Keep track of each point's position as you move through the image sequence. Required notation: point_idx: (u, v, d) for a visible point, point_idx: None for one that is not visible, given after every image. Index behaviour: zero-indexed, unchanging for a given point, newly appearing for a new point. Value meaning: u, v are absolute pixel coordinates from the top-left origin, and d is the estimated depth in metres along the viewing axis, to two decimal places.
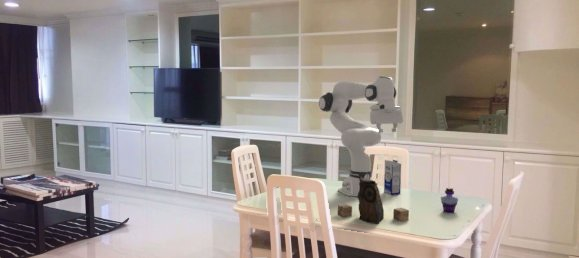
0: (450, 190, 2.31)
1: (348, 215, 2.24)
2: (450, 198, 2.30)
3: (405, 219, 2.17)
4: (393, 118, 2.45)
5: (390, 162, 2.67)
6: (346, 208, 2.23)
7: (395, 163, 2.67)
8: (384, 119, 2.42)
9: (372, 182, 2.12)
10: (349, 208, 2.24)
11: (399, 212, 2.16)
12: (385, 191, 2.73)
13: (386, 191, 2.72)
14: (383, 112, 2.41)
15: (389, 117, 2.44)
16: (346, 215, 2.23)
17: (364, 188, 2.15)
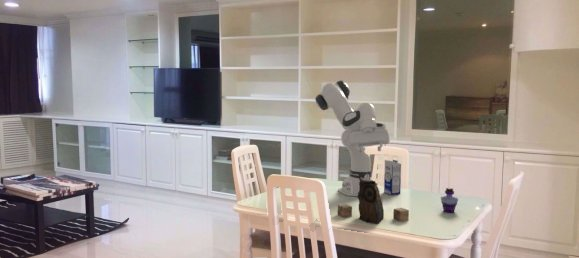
0: (450, 190, 2.31)
1: (348, 215, 2.24)
2: (450, 198, 2.30)
3: (405, 219, 2.17)
4: None
5: (390, 162, 2.67)
6: (346, 208, 2.23)
7: (395, 163, 2.67)
8: None
9: (372, 182, 2.12)
10: (349, 208, 2.24)
11: (399, 212, 2.16)
12: (385, 191, 2.73)
13: (386, 191, 2.72)
14: None
15: None
16: (346, 215, 2.23)
17: (364, 188, 2.15)
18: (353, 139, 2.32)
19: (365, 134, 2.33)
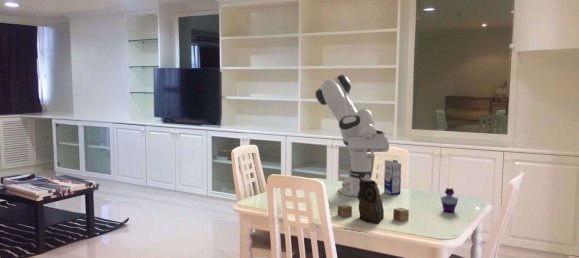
0: (450, 190, 2.31)
1: (348, 215, 2.24)
2: (450, 198, 2.30)
3: (405, 219, 2.17)
4: None
5: (390, 162, 2.67)
6: (346, 208, 2.23)
7: (395, 163, 2.67)
8: None
9: (372, 182, 2.12)
10: (349, 208, 2.24)
11: (399, 212, 2.16)
12: (385, 191, 2.73)
13: (386, 191, 2.72)
14: None
15: None
16: (346, 215, 2.23)
17: (364, 188, 2.15)
18: (352, 144, 2.27)
19: (364, 140, 2.29)
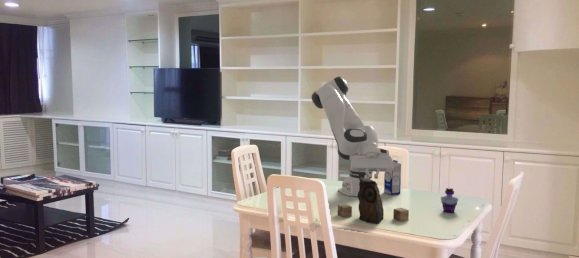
0: (450, 190, 2.31)
1: (348, 215, 2.24)
2: (450, 198, 2.30)
3: (405, 219, 2.17)
4: None
5: None
6: (346, 208, 2.23)
7: (395, 163, 2.67)
8: None
9: (372, 182, 2.11)
10: (349, 208, 2.24)
11: (399, 212, 2.16)
12: (385, 191, 2.73)
13: (386, 191, 2.72)
14: None
15: None
16: (346, 215, 2.23)
17: (364, 188, 2.14)
18: (356, 163, 2.20)
19: (368, 159, 2.22)
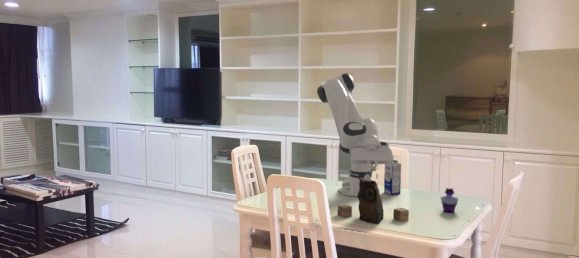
0: (450, 190, 2.31)
1: (348, 215, 2.24)
2: (450, 198, 2.30)
3: (405, 219, 2.17)
4: None
5: None
6: (346, 208, 2.23)
7: (395, 163, 2.67)
8: None
9: (372, 182, 2.12)
10: (349, 208, 2.24)
11: (399, 212, 2.16)
12: (385, 191, 2.73)
13: (386, 191, 2.72)
14: None
15: None
16: (346, 215, 2.23)
17: (364, 188, 2.14)
18: (356, 155, 2.20)
19: (368, 152, 2.22)
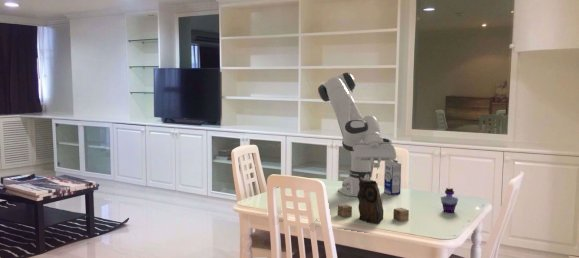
0: (450, 190, 2.31)
1: (348, 215, 2.24)
2: (450, 198, 2.30)
3: (405, 219, 2.17)
4: None
5: (390, 162, 2.67)
6: (346, 208, 2.23)
7: (395, 163, 2.67)
8: None
9: (373, 182, 2.12)
10: (349, 208, 2.24)
11: (399, 212, 2.16)
12: (385, 191, 2.73)
13: (386, 191, 2.72)
14: None
15: None
16: (346, 215, 2.23)
17: (364, 188, 2.14)
18: (359, 152, 2.22)
19: (371, 148, 2.23)
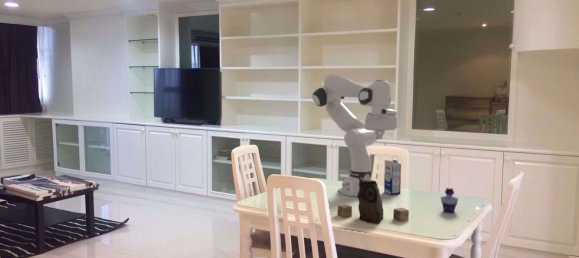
0: (450, 190, 2.31)
1: (348, 215, 2.24)
2: (450, 198, 2.30)
3: (405, 219, 2.17)
4: None
5: (390, 162, 2.67)
6: (346, 208, 2.23)
7: (395, 163, 2.67)
8: None
9: (373, 182, 2.12)
10: (349, 208, 2.24)
11: (399, 212, 2.16)
12: (385, 191, 2.73)
13: (386, 191, 2.72)
14: None
15: None
16: (346, 215, 2.23)
17: (364, 188, 2.14)
18: (367, 125, 2.36)
19: (375, 120, 2.31)
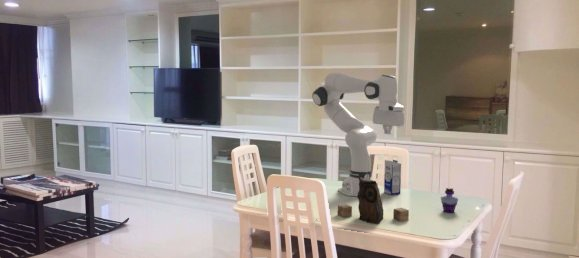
0: (450, 190, 2.31)
1: (348, 215, 2.24)
2: (450, 198, 2.30)
3: (405, 219, 2.17)
4: None
5: (390, 162, 2.67)
6: (346, 208, 2.23)
7: (395, 163, 2.67)
8: None
9: (373, 182, 2.12)
10: (349, 208, 2.24)
11: (399, 212, 2.16)
12: (385, 191, 2.73)
13: (386, 191, 2.72)
14: None
15: None
16: (346, 215, 2.23)
17: (364, 188, 2.14)
18: (375, 119, 2.39)
19: (383, 115, 2.34)
